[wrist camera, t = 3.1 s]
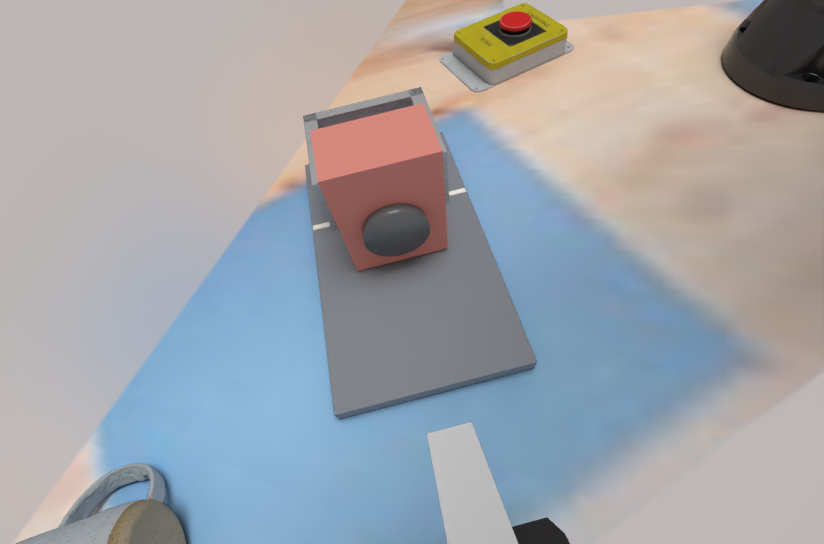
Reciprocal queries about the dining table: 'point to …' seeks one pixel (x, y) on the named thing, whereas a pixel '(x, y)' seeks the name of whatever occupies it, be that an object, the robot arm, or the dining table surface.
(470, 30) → the emergency button
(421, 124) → the pink box with dome
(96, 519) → the ceramic mug
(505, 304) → the stand board
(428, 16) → the dining table surface
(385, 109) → the grey box holder bracket
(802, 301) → the dining table surface
